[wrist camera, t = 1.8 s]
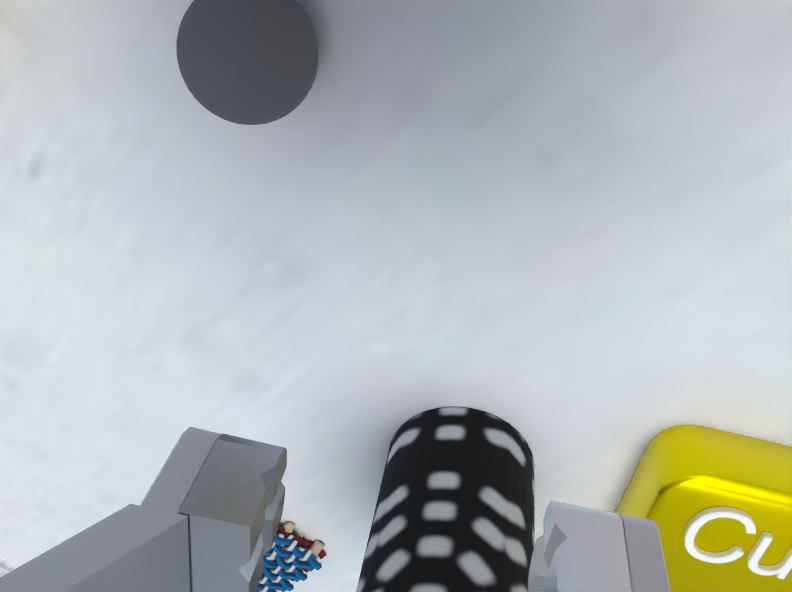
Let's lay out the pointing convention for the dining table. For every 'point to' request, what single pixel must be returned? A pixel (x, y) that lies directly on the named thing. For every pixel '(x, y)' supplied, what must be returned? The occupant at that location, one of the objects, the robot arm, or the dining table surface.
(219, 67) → the dark grey round ball
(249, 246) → the dining table surface
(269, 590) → the woven mat
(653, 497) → the element tile
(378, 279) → the dining table surface
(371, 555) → the spotted tube
